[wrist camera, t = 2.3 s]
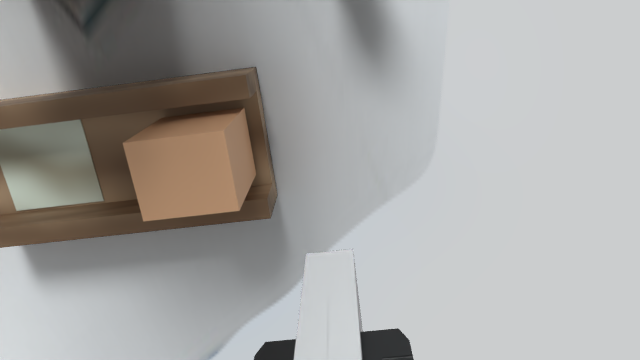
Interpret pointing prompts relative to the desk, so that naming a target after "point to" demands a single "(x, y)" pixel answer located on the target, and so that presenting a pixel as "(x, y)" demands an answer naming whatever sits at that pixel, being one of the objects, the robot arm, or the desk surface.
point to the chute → (111, 156)
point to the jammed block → (192, 164)
